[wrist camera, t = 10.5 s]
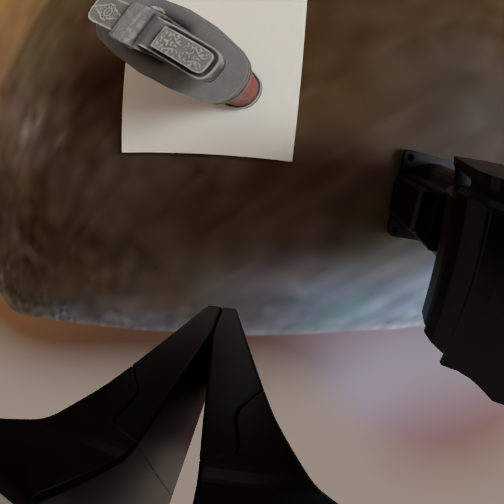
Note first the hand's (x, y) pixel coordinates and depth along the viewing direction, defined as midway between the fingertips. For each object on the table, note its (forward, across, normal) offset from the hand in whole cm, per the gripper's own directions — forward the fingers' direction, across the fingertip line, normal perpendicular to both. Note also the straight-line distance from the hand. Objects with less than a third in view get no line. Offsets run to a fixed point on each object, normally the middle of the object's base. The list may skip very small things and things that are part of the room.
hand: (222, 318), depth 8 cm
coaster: (+13, +4, -9) cm, 16 cm away
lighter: (+12, +4, -9) cm, 16 cm away
